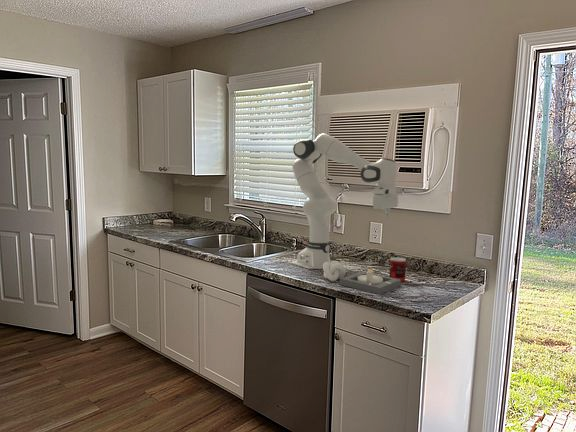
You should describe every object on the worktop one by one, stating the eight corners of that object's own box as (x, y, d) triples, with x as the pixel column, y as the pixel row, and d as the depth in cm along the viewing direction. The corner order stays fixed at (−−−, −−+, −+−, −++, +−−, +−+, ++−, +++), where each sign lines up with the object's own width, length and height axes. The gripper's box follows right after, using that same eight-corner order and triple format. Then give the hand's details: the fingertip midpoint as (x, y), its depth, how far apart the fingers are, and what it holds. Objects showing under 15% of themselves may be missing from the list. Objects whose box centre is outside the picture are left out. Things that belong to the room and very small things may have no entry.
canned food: (393, 277, 232) (394, 256, 231) (407, 280, 227) (408, 259, 226) (386, 280, 226) (387, 258, 225) (401, 283, 221) (402, 261, 220)
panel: (339, 284, 216) (339, 278, 215) (361, 277, 231) (361, 271, 230) (379, 294, 201) (380, 287, 201) (400, 285, 217) (400, 279, 216)
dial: (359, 277, 224) (360, 265, 223) (384, 280, 220) (384, 268, 219) (355, 284, 212) (355, 271, 211) (380, 286, 208) (381, 273, 207)
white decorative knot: (335, 284, 217) (335, 266, 215) (315, 279, 224) (316, 262, 223) (348, 279, 225) (348, 262, 224) (328, 275, 233) (329, 258, 232)
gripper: (390, 189, 239) (389, 214, 241) (371, 190, 224) (370, 217, 226) (401, 189, 235) (400, 215, 237) (382, 191, 220) (381, 219, 222)
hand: (385, 216), depth 231 cm, fingers closed
